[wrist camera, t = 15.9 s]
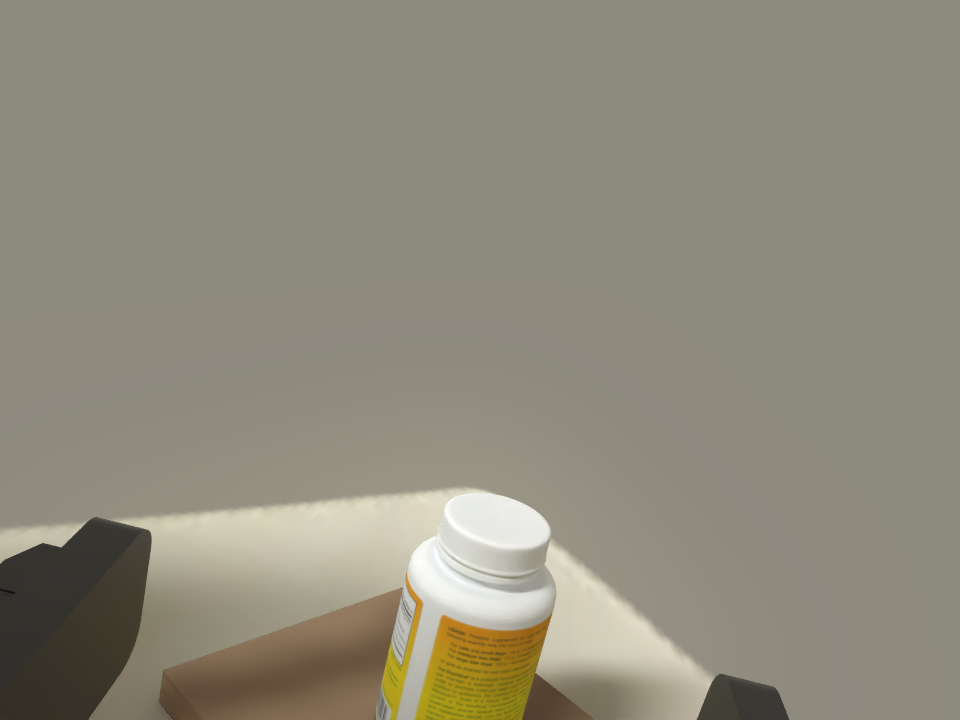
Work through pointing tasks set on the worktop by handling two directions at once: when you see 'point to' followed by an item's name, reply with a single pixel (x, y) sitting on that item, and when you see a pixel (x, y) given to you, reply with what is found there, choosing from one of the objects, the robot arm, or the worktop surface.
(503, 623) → the supplement bottle
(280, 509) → the worktop surface
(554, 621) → the worktop surface
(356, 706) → the walnut board
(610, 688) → the worktop surface
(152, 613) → the worktop surface
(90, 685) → the robot arm
